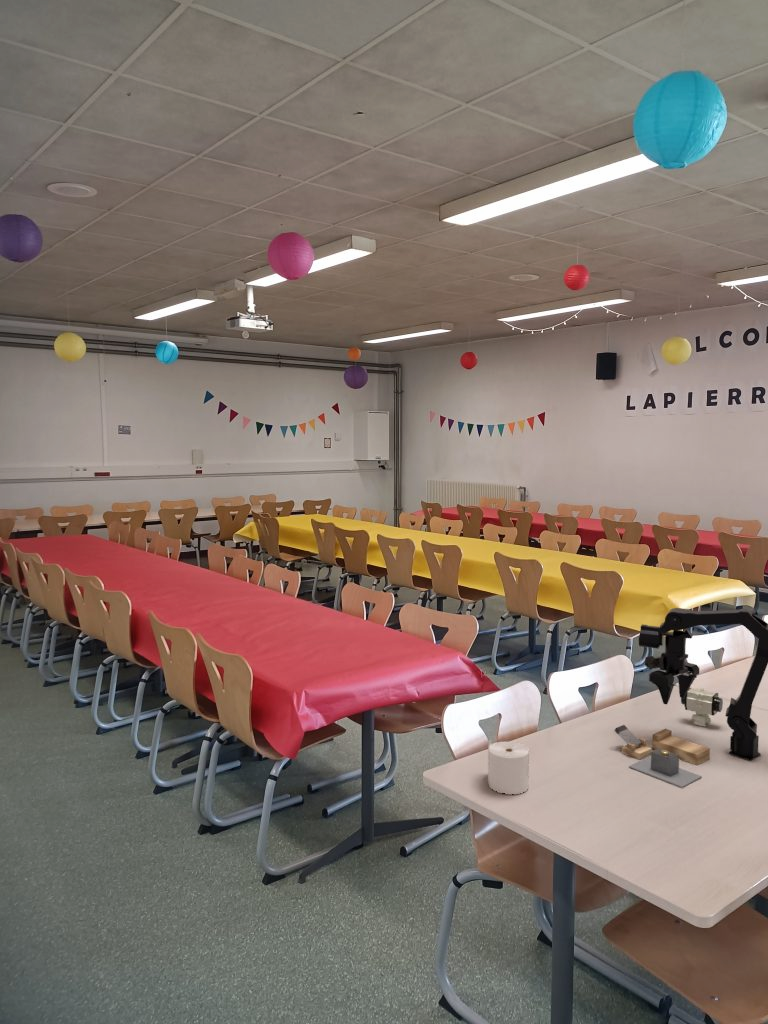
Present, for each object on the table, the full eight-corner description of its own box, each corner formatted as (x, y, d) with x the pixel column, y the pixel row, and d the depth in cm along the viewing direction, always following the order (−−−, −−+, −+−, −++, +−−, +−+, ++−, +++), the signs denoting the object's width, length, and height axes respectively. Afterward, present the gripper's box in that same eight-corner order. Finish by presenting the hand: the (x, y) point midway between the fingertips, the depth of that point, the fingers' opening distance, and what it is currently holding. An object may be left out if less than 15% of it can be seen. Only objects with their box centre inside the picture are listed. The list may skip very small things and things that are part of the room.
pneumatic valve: (684, 718, 239) (685, 683, 238) (722, 726, 232) (723, 690, 231) (679, 723, 235) (680, 687, 234) (717, 732, 228) (718, 695, 227)
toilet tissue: (521, 798, 184) (521, 761, 184) (477, 788, 190) (477, 751, 189) (534, 782, 194) (534, 746, 193) (492, 772, 200) (492, 737, 199)
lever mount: (652, 754, 211) (652, 742, 211) (639, 760, 207) (639, 748, 207) (634, 747, 216) (634, 735, 216) (620, 753, 212) (621, 741, 212)
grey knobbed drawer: (678, 772, 198) (679, 753, 197) (670, 776, 196) (671, 756, 195) (658, 765, 203) (659, 746, 202) (650, 769, 200) (651, 749, 200)
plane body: (709, 758, 208) (710, 743, 208) (696, 765, 204) (697, 749, 203) (665, 743, 219) (665, 728, 219) (652, 749, 215) (652, 734, 214)
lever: (642, 743, 212) (624, 724, 217) (635, 747, 209) (616, 727, 214) (641, 746, 212) (622, 727, 217) (633, 749, 210) (614, 730, 215)
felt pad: (701, 777, 196) (701, 776, 196) (682, 788, 190) (682, 786, 190) (648, 758, 208) (648, 756, 208) (628, 767, 202) (628, 766, 202)
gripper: (667, 640, 229) (666, 687, 231) (633, 650, 218) (632, 700, 219) (701, 647, 221) (699, 697, 222) (667, 658, 209) (666, 710, 211)
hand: (673, 700), depth 219 cm, fingers open, 9 cm apart
